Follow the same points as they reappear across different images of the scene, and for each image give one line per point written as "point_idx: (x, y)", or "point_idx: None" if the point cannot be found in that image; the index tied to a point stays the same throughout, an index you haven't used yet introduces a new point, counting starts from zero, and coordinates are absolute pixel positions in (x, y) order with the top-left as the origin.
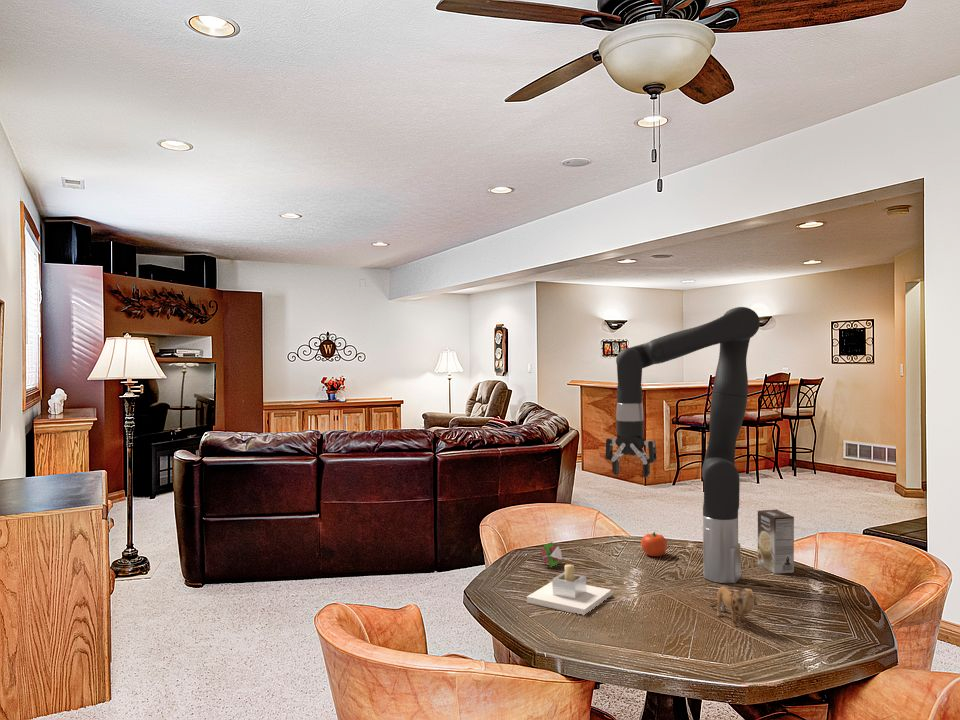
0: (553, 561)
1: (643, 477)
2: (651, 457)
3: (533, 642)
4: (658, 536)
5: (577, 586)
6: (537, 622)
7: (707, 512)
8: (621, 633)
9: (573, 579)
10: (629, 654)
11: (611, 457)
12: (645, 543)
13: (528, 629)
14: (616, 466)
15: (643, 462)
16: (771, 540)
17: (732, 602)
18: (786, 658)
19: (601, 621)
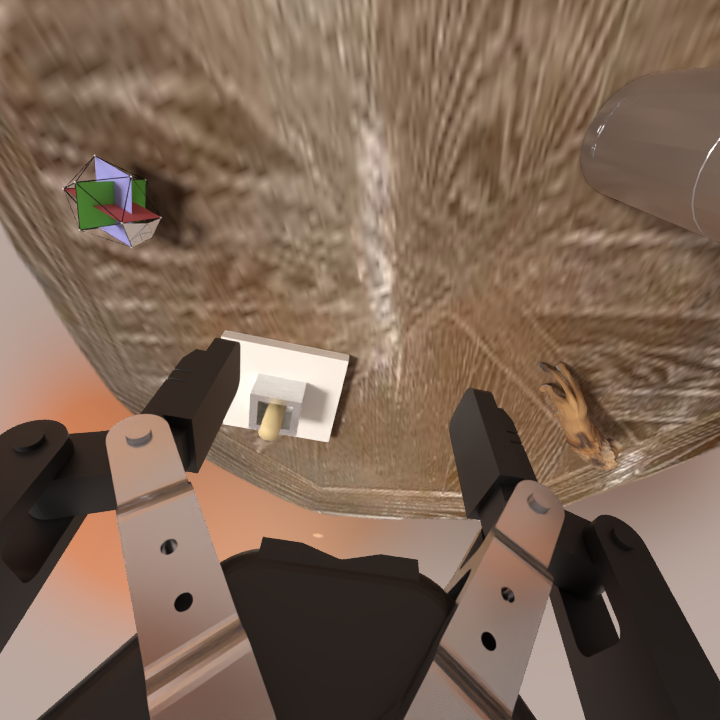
0: (133, 201)
1: (452, 420)
2: (578, 616)
3: (297, 499)
4: None
5: (298, 424)
6: (277, 463)
7: None
8: (390, 464)
9: (283, 416)
10: (406, 499)
11: (107, 500)
12: None
13: (276, 479)
14: (213, 437)
15: (479, 541)
16: None
17: (570, 446)
18: (592, 473)
19: (357, 443)
